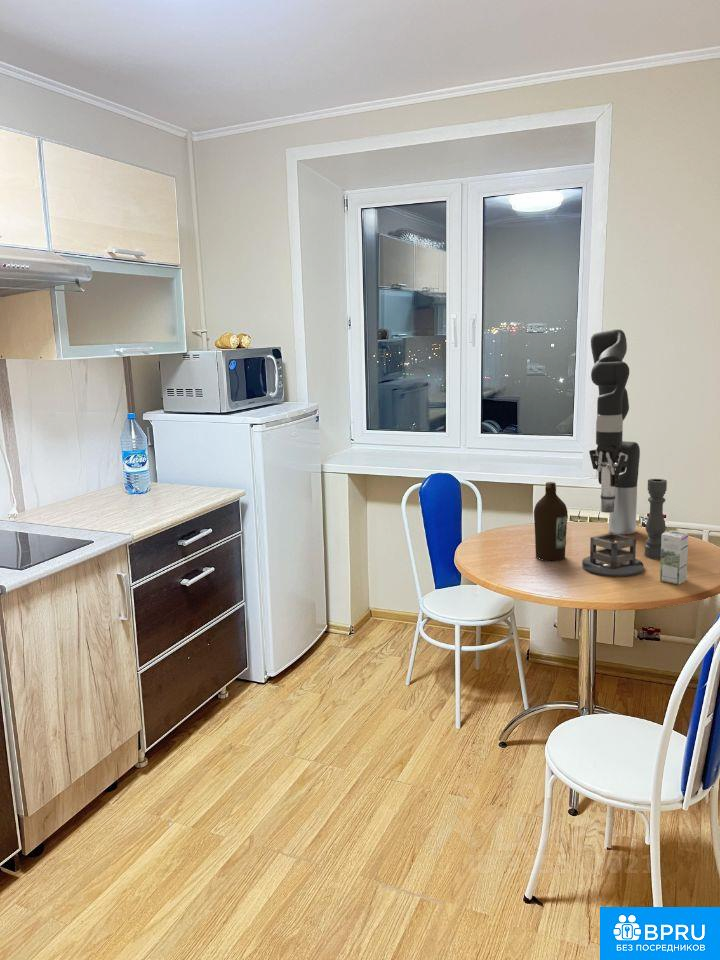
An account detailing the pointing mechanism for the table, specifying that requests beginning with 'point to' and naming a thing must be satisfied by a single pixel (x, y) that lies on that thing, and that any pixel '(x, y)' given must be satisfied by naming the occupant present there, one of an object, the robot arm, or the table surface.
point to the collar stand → (612, 556)
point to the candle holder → (655, 518)
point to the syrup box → (674, 557)
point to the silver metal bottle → (607, 490)
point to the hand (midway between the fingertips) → (608, 484)
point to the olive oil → (550, 525)
